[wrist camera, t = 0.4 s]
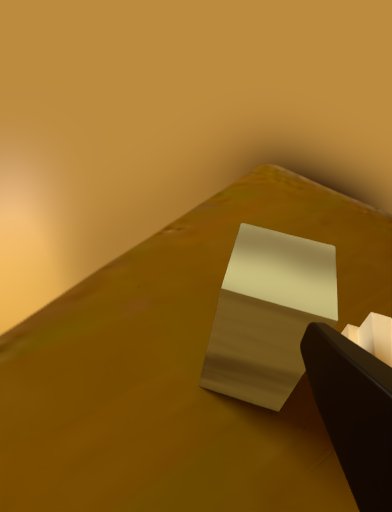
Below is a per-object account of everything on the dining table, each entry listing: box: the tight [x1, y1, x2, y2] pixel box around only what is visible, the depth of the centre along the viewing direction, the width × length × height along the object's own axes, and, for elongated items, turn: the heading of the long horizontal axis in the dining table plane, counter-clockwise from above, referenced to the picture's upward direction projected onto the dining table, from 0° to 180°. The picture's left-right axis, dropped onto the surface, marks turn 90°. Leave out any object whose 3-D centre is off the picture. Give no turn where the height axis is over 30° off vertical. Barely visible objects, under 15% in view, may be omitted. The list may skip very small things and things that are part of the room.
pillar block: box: [199, 223, 338, 412], centre depth 23 cm, size 6×6×11 cm
